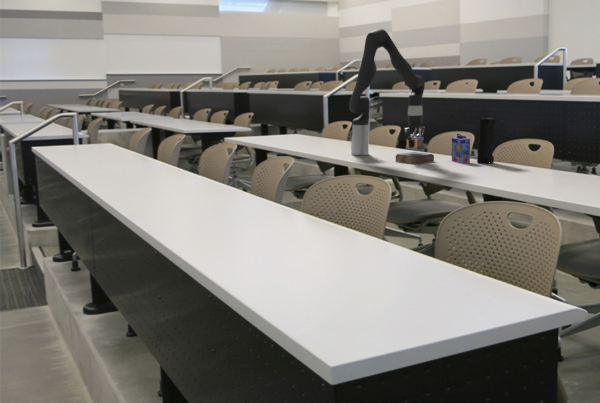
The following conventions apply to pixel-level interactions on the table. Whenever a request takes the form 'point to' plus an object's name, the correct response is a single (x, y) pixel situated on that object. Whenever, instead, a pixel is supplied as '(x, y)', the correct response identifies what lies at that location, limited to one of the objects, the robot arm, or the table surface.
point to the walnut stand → (414, 157)
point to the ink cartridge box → (461, 149)
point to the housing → (416, 143)
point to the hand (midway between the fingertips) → (414, 147)
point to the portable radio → (485, 140)
